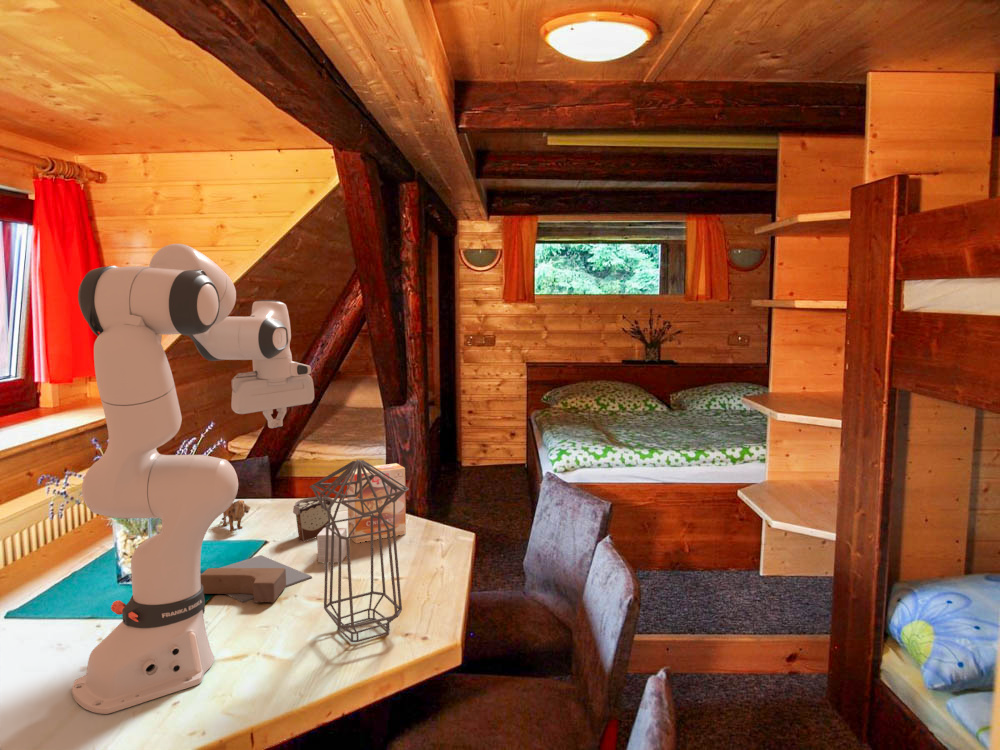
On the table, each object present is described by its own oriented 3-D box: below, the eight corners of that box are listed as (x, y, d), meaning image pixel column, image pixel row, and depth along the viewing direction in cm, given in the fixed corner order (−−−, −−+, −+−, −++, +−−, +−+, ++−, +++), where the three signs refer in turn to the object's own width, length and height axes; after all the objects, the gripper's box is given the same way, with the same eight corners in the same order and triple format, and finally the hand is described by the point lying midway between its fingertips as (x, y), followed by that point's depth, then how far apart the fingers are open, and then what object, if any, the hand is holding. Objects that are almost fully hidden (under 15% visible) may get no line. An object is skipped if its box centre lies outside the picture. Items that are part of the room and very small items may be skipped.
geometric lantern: (414, 637, 139) (412, 462, 136) (337, 658, 131) (332, 473, 127) (383, 608, 153) (380, 448, 149) (311, 625, 144) (306, 457, 140)
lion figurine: (253, 530, 204) (252, 499, 203) (235, 534, 201) (234, 503, 200) (230, 519, 214) (228, 490, 214) (212, 523, 211) (211, 493, 210)
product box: (347, 554, 184) (347, 527, 184) (341, 563, 178) (340, 535, 178) (324, 554, 185) (324, 527, 184) (317, 563, 179) (316, 534, 178)
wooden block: (273, 583, 154) (190, 583, 154) (274, 602, 154) (191, 603, 154) (286, 567, 163) (207, 567, 163) (286, 586, 163) (208, 586, 163)
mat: (242, 602, 155) (242, 600, 155) (193, 577, 169) (193, 575, 169) (311, 577, 169) (311, 576, 169) (261, 556, 183) (261, 555, 183)
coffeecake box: (355, 544, 193) (354, 473, 190) (347, 536, 199) (345, 468, 197) (406, 534, 200) (405, 467, 198) (397, 527, 206) (396, 462, 204)
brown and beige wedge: (319, 527, 206) (318, 494, 205) (333, 531, 203) (332, 497, 202) (284, 539, 197) (283, 504, 195) (298, 543, 193) (297, 507, 192)
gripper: (238, 375, 156) (242, 436, 158) (316, 366, 172) (319, 422, 174) (224, 372, 160) (227, 432, 162) (301, 364, 176) (304, 418, 178)
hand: (275, 427), depth 168 cm, fingers closed
